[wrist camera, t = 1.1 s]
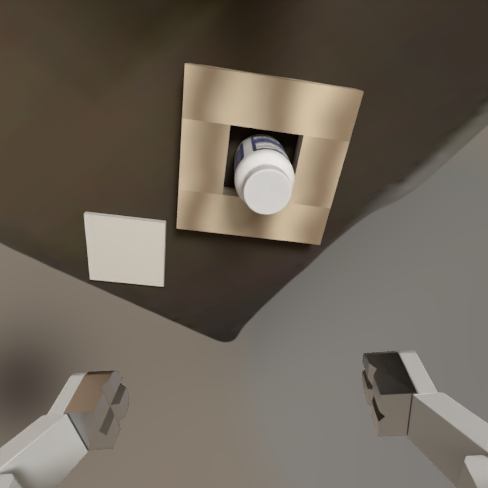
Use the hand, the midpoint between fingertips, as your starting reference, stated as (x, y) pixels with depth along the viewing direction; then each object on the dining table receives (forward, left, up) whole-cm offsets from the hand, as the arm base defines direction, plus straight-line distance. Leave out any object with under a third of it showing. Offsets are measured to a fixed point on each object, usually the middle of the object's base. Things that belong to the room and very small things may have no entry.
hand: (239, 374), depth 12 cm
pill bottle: (+3, 0, -29) cm, 29 cm away
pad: (-11, -13, -28) cm, 33 cm away
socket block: (+3, 0, -28) cm, 28 cm away
